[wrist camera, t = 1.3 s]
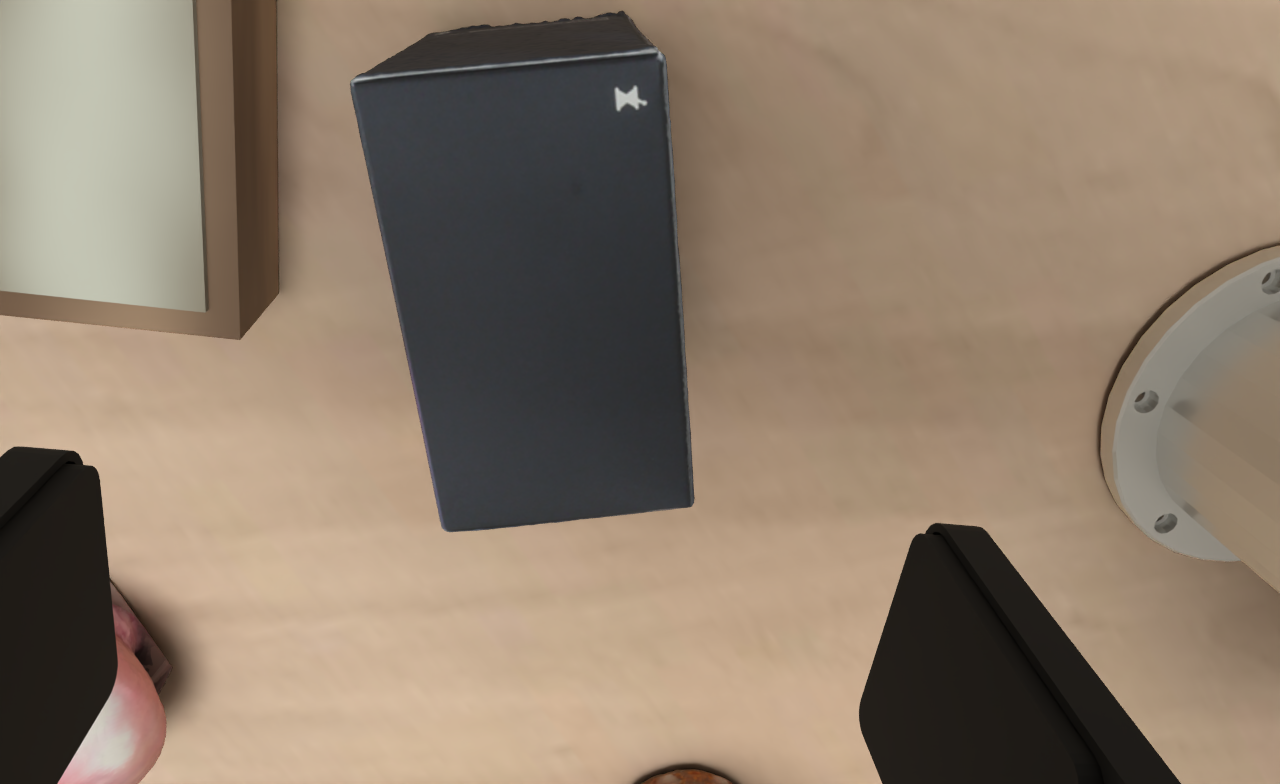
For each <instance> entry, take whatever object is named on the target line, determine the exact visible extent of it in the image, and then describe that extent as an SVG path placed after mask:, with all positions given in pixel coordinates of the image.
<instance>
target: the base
mask: <svg viewBox="0 0 1280 784" xmlns="http://www.w3.org/2000/svg"><path fill="white" fill-rule="evenodd" d="M278 294H279V270H278V150H277V30H276V0H0V315H5V316H15V317H25V318H34V319H44V320H54V321H63V322H73V323H82V324H92V325H102V326H111V327H121V328H131V329H140V330H150V331H159V332H169V333H179V334H188V335H198V336H208V337H217V338H227V339H237V340H240V339H241V338H242V337H243V336H244V335H245V333H246V332H247V331H248V330H249V329H250V327H251V326H252V325H253V324H254V323H255V321H256V320H257V319H258V318H259V317H260V315H261V314H262V313H263V312H264V311H265V309H266V308H267V307H268V306H269V305H270V303H271V302H272V301H273V300H274V299H275V297H276V296H277V295H278Z"/></svg>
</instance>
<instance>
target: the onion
mask: <svg viewBox="0 0 1280 784" xmlns="http://www.w3.org/2000/svg"><path fill="white" fill-rule="evenodd" d="M113 585H114V584H113V583H111V582H110V586H111V596H112V606H113V616H114V626H115V636H116V646H117V656H118V670H117V676H116V681H115V684H114V687H113V690H112V692H111V695H110V697H109V698H108V700H107V702H106V703H105V705H104V707H103V708H102V710H101V712H100V713H99V715H98V717H97V719H96V720H95V722H94V724H93V725H92V727H91V729H90V730H89V732H88V734H87V735H86V737H85V739H84V740H83V742H82V744H81V745H80V747H79V749H78V750H77V752H76V754H75V755H74V757H73V759H72V760H71V762H70V764H69V765H68V767H67V769H66V770H65V772H64V774H63V775H62V777H61V779H60V780H59V782H58V784H138V783H139V782H140V781H141V780H142V779H143V778H144V777H145V775H146V774H147V773H148V772H149V770H150V769H151V768H152V767H153V766H154V764H155V763H156V761H157V759H158V757H159V756H160V754H161V751H162V748H163V745H164V742H165V737H166V716H165V712H164V707H163V705H162V703H161V702H160V699H159V697H158V694H159V693H160V691H161V689H162V687H163V686H164V684H165V682H166V679H167V678H168V676H169V674H170V672H171V670H172V668H173V667H172V666H171V665H170V663H169V662H168V660H167V659H166V657H165V656H164V655H163V653H162V652H161V650H160V649H159V647H158V646H157V645H156V643H155V642H154V640H153V639H152V637H151V636H150V635H149V633H148V632H147V631H146V629H145V628H144V626H143V625H142V624H141V622H140V621H139V620H138V618H137V617H136V615H135V614H134V613H133V611H132V610H131V608H130V607H129V605H128V604H127V602H126V601H125V599H124V598H123V597H122V595H121V594H120V592H119V591H117V590H116V589H117V588H116V587H114V586H113ZM115 588H116V589H115ZM118 592H119V593H118Z"/></svg>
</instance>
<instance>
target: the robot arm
mask: <svg viewBox="0 0 1280 784" xmlns="http://www.w3.org/2000/svg"><path fill="white" fill-rule="evenodd" d="M1100 455H1101V460H1102V466H1103V471H1104V476H1105V481H1106V483H1107V485H1108V487H1109V489H1110V491H1111V494H1112V496H1113V498H1114V500H1115V502H1116V504H1117V505H1118V506H1119V507H1120V508H1121V510H1122V511H1123V512H1124V513H1125V514H1126V516H1127V517H1128V518H1129V519H1130V520H1131V521H1132V522H1133V523H1134V524H1135V525H1136V526H1137V527H1138V528H1139V529H1140V530H1141V531H1142V532H1143V533H1144V534H1145V535H1147V536H1148V537H1149V538H1150V539H1151V540H1153V541H1155V542H1156V543H1158V544H1160V545H1162V546H1164V547H1166V548H1167V549H1169V550H1171V551H1173V552H1175V553H1178V554H1182V555H1185V556H1189V557H1192V558H1196V559H1199V560H1210V561H1222V562H1234V561H1242V562H1243V563H1245V564H1246V565H1247V566H1248V567H1249V568H1250V569H1252V570H1253V571H1254V572H1255V573H1256V574H1257V575H1258V576H1260V577H1261V578H1262V579H1263V580H1264V581H1265V582H1267V583H1268V584H1269V585H1270V586H1271V587H1272V588H1273V589H1275V590H1276V591H1277V592H1278V593H1279V594H1280V245H1279V246H1275V247H1271V248H1267V249H1263V250H1260V251H1258V252H1256V253H1253V254H1251V255H1249V256H1246V257H1244V258H1242V259H1239V260H1237V261H1235V262H1232V263H1230V264H1228V265H1226V266H1225V267H1223V268H1221V269H1220V270H1218V271H1217V272H1215V273H1213V274H1212V275H1210V276H1208V277H1207V278H1205V279H1204V280H1202V281H1200V282H1199V283H1197V284H1196V285H1194V286H1193V287H1192V288H1191V289H1190V290H1188V291H1187V292H1186V293H1185V294H1184V295H1182V296H1181V297H1180V298H1179V299H1178V300H1176V301H1175V302H1174V303H1173V304H1172V305H1170V306H1169V307H1168V308H1167V309H1166V310H1165V311H1164V312H1163V313H1162V314H1161V316H1160V317H1159V318H1158V319H1157V320H1156V321H1155V322H1154V323H1153V324H1152V326H1151V327H1150V328H1149V329H1148V330H1147V331H1146V332H1145V333H1144V335H1143V336H1142V337H1141V338H1140V340H1139V341H1138V343H1137V344H1136V346H1135V347H1134V349H1133V351H1132V352H1131V354H1130V355H1129V357H1128V358H1127V360H1126V361H1125V363H1124V364H1123V366H1122V368H1121V370H1120V372H1119V375H1118V377H1117V379H1116V381H1115V384H1114V386H1113V388H1112V390H1111V393H1110V395H1109V398H1108V402H1107V406H1106V410H1105V414H1104V418H1103V422H1102V426H1101V452H1100ZM117 670H118V656H117V646H116V636H115V626H114V616H113V606H112V596H111V586H110V576H109V567H108V557H107V547H106V537H105V527H104V517H103V507H102V497H101V487H100V479H99V474H98V472H97V470H96V468H95V467H93V466H87V465H83V462H82V460H81V458H80V456H79V454H78V453H76V452H75V451H68V450H56V449H44V448H32V447H13V448H11V449H10V450H8V451H7V452H6V453H5V454H3V455H2V456H1V457H0V784H58V782H59V780H60V779H61V777H62V775H63V774H64V772H65V770H66V769H67V767H68V765H69V764H70V762H71V760H72V759H73V757H74V755H75V754H76V752H77V750H78V749H79V747H80V745H81V744H82V742H83V740H84V739H85V737H86V735H87V734H88V732H89V730H90V729H91V727H92V725H93V724H94V722H95V720H96V719H97V717H98V715H99V713H100V712H101V710H102V708H103V707H104V705H105V703H106V702H107V700H108V698H109V697H110V695H111V692H112V690H113V687H114V684H115V681H116V676H117ZM859 721H860V727H861V731H862V734H863V737H864V739H865V742H866V744H867V747H868V749H869V752H870V754H871V756H872V759H873V761H874V764H875V766H876V769H877V771H878V774H879V776H880V779H881V781H882V783H883V784H1181V783H1180V782H1179V780H1178V779H1177V778H1176V777H1175V775H1174V774H1173V773H1172V771H1171V770H1170V769H1169V767H1168V766H1167V765H1166V764H1165V762H1164V761H1163V760H1162V758H1161V757H1160V756H1159V754H1158V753H1157V752H1156V751H1155V749H1154V748H1153V747H1152V745H1151V744H1150V743H1149V742H1148V740H1147V739H1146V738H1145V736H1144V735H1143V734H1142V732H1141V731H1140V730H1139V729H1138V727H1137V726H1136V725H1135V723H1134V722H1133V721H1132V719H1131V718H1130V717H1129V716H1128V714H1127V713H1126V712H1125V710H1124V709H1123V708H1122V707H1121V705H1120V704H1119V703H1118V701H1117V700H1116V699H1115V697H1114V696H1113V695H1112V694H1111V692H1110V691H1109V690H1108V688H1107V687H1106V686H1105V684H1104V683H1103V682H1102V681H1101V679H1100V678H1099V677H1098V675H1097V674H1096V673H1095V672H1094V670H1093V669H1092V668H1091V666H1090V665H1089V664H1088V662H1087V661H1086V660H1085V659H1084V657H1083V656H1082V655H1081V653H1080V652H1079V651H1078V649H1077V648H1076V647H1075V646H1074V644H1073V643H1072V642H1071V640H1070V639H1069V638H1068V637H1067V635H1066V634H1065V633H1064V631H1063V630H1062V629H1061V627H1060V626H1059V625H1058V624H1057V622H1056V621H1055V620H1054V618H1053V617H1052V616H1051V614H1050V613H1049V612H1048V611H1047V609H1046V608H1045V607H1044V605H1043V604H1042V603H1041V601H1040V600H1039V599H1038V598H1037V596H1036V595H1035V594H1034V592H1033V591H1032V590H1031V589H1030V587H1029V586H1028V585H1027V583H1026V582H1025V581H1024V579H1023V578H1022V577H1021V576H1020V574H1019V573H1018V572H1017V570H1016V569H1015V568H1014V566H1013V565H1012V564H1011V563H1010V561H1009V560H1008V559H1007V557H1006V556H1005V555H1004V554H1003V552H1002V551H1001V550H1000V548H999V547H998V546H997V544H996V543H995V542H994V541H993V539H992V538H991V537H990V535H989V534H988V533H987V532H986V531H985V530H984V529H983V528H981V527H977V526H965V525H953V524H941V523H935V524H933V525H931V526H930V527H929V528H928V530H927V531H926V533H925V534H918V535H916V536H915V537H914V538H913V540H912V543H911V545H910V548H909V551H908V554H907V557H906V560H905V564H904V567H903V570H902V573H901V576H900V579H899V582H898V585H897V589H896V592H895V595H894V598H893V601H892V604H891V607H890V610H889V614H888V617H887V620H886V623H885V626H884V629H883V632H882V635H881V639H880V642H879V645H878V648H877V651H876V654H875V657H874V660H873V664H872V667H871V670H870V673H869V676H868V679H867V682H866V685H865V689H864V692H863V695H862V698H861V702H860V708H859Z"/></svg>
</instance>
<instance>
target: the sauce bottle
mask: <svg viewBox="0 0 1280 784" xmlns="http://www.w3.org/2000/svg"><path fill="white" fill-rule="evenodd" d="M641 784H733V783H732V782H730V781H729V780H727V779H725V778H723V777H720V776H717V775H714V774H712V773H709V772H705V771H703V770H696V769H689V770H686V769H685V770H675V771H672V772H667V773H665V774H660V775H656V776H654V777H651V778H649V779H648V780H647V781H645V782H643V783H641Z"/></svg>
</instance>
